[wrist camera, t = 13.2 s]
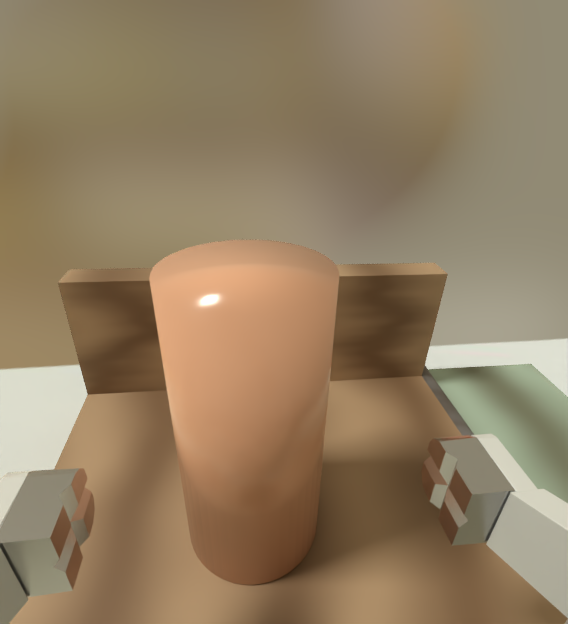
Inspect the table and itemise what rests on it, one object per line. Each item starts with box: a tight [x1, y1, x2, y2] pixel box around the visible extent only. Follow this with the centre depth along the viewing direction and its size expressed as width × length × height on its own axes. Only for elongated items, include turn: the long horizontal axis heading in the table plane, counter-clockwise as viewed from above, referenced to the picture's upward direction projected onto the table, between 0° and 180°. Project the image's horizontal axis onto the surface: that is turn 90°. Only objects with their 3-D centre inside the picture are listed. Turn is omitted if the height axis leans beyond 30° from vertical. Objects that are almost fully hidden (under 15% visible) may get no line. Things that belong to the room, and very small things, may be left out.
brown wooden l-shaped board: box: [9, 263, 568, 624], centre depth 18 cm, size 29×16×9 cm, turn 97°
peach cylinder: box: [149, 240, 339, 585], centre depth 14 cm, size 5×5×11 cm
